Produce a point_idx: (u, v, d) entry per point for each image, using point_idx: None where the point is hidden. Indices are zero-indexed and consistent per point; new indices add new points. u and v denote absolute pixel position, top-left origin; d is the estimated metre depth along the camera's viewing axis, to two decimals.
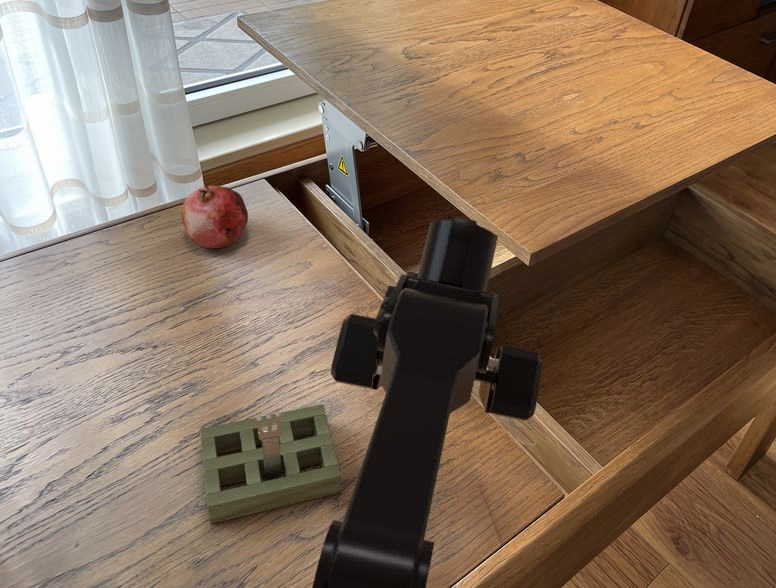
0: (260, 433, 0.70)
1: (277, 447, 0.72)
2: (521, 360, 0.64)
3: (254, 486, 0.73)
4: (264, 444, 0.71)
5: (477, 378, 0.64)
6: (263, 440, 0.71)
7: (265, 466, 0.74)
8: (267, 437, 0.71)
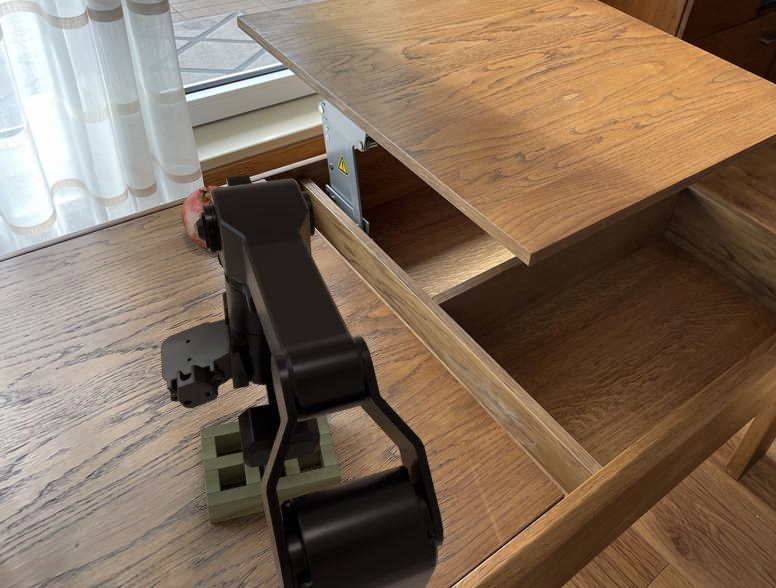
0: None
1: None
2: None
3: (254, 486, 0.73)
4: None
5: None
6: None
7: (265, 466, 0.74)
8: None
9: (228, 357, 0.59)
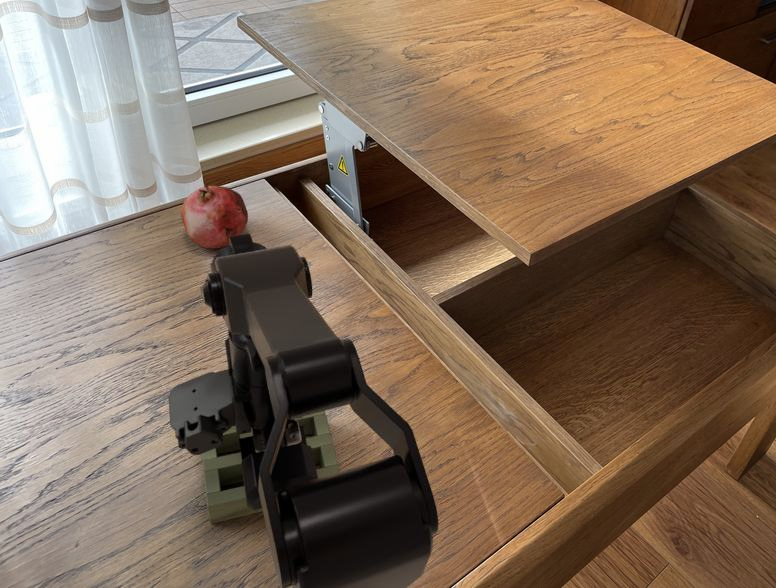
0: None
1: None
2: None
3: None
4: None
5: None
6: None
7: None
8: None
9: (232, 406, 0.63)
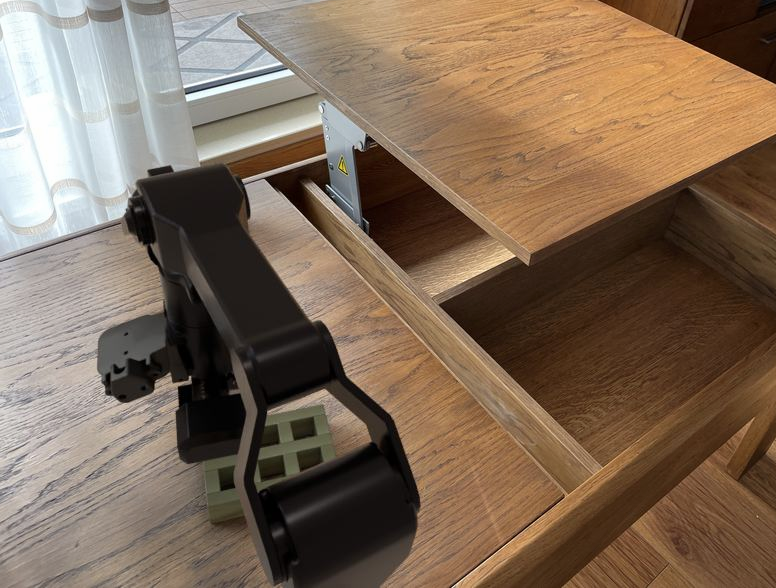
0: None
1: None
2: None
3: None
4: None
5: None
6: None
7: None
8: None
9: (165, 350, 0.57)
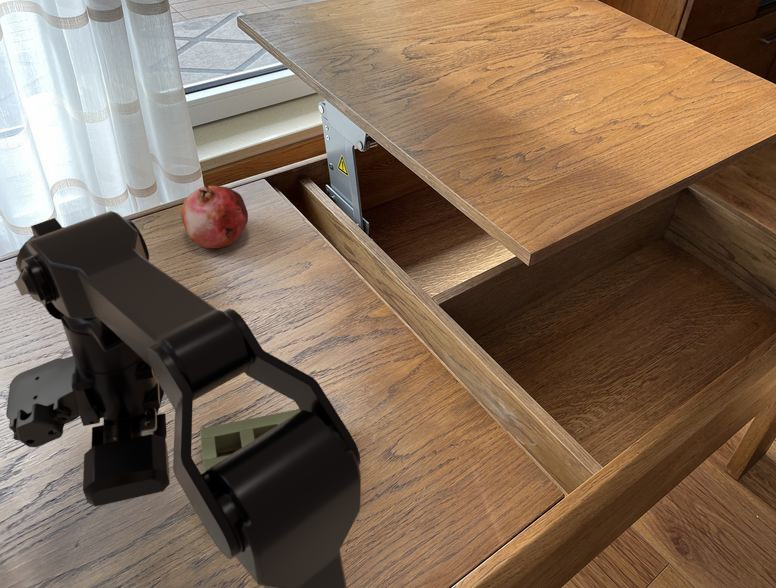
0: None
1: None
2: None
3: None
4: None
5: None
6: None
7: None
8: None
9: (74, 395, 0.58)
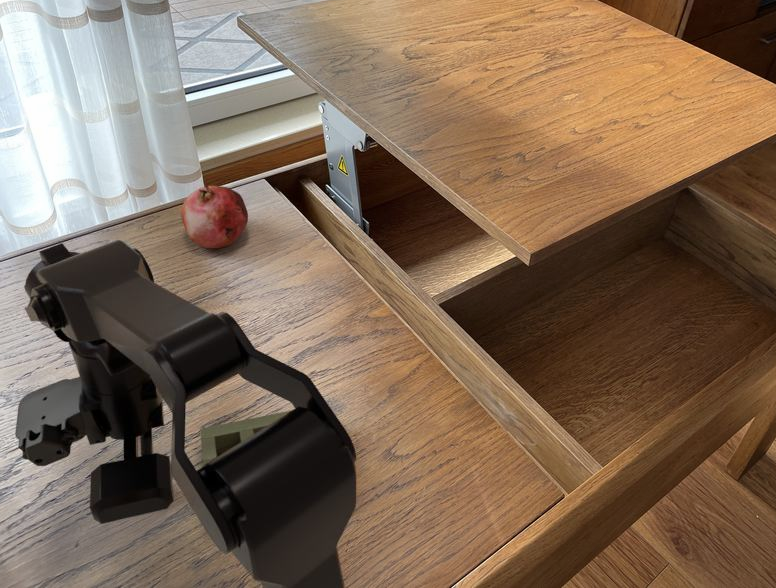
0: None
1: None
2: None
3: None
4: None
5: None
6: None
7: None
8: None
9: (81, 415, 0.60)
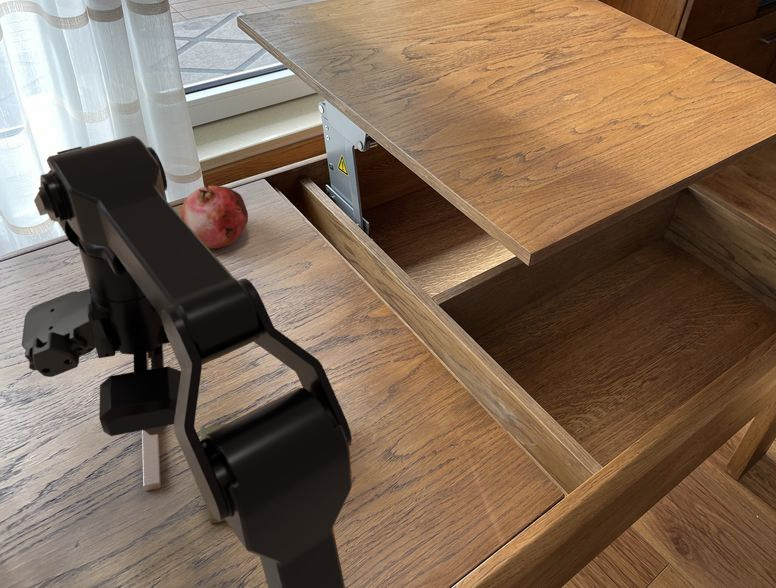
0: None
1: None
2: None
3: None
4: None
5: None
6: None
7: (143, 447, 0.77)
8: None
9: (90, 325, 0.58)
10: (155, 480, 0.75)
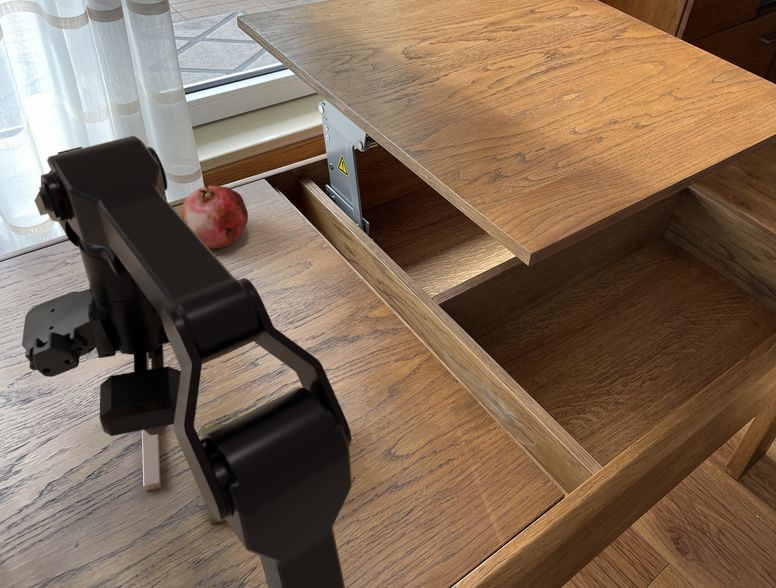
0: None
1: None
2: None
3: None
4: None
5: None
6: None
7: (143, 447, 0.77)
8: None
9: (90, 325, 0.58)
10: (155, 480, 0.75)
